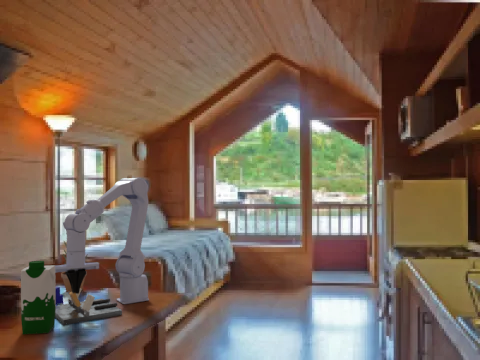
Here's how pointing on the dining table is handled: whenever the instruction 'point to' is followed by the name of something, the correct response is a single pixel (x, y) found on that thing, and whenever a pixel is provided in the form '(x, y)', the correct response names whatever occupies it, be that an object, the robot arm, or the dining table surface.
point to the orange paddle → (74, 299)
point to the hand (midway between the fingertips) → (75, 293)
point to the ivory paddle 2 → (88, 302)
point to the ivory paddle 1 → (78, 293)
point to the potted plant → (65, 278)
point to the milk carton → (38, 298)
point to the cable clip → (58, 296)
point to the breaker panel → (84, 312)
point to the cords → (103, 305)
